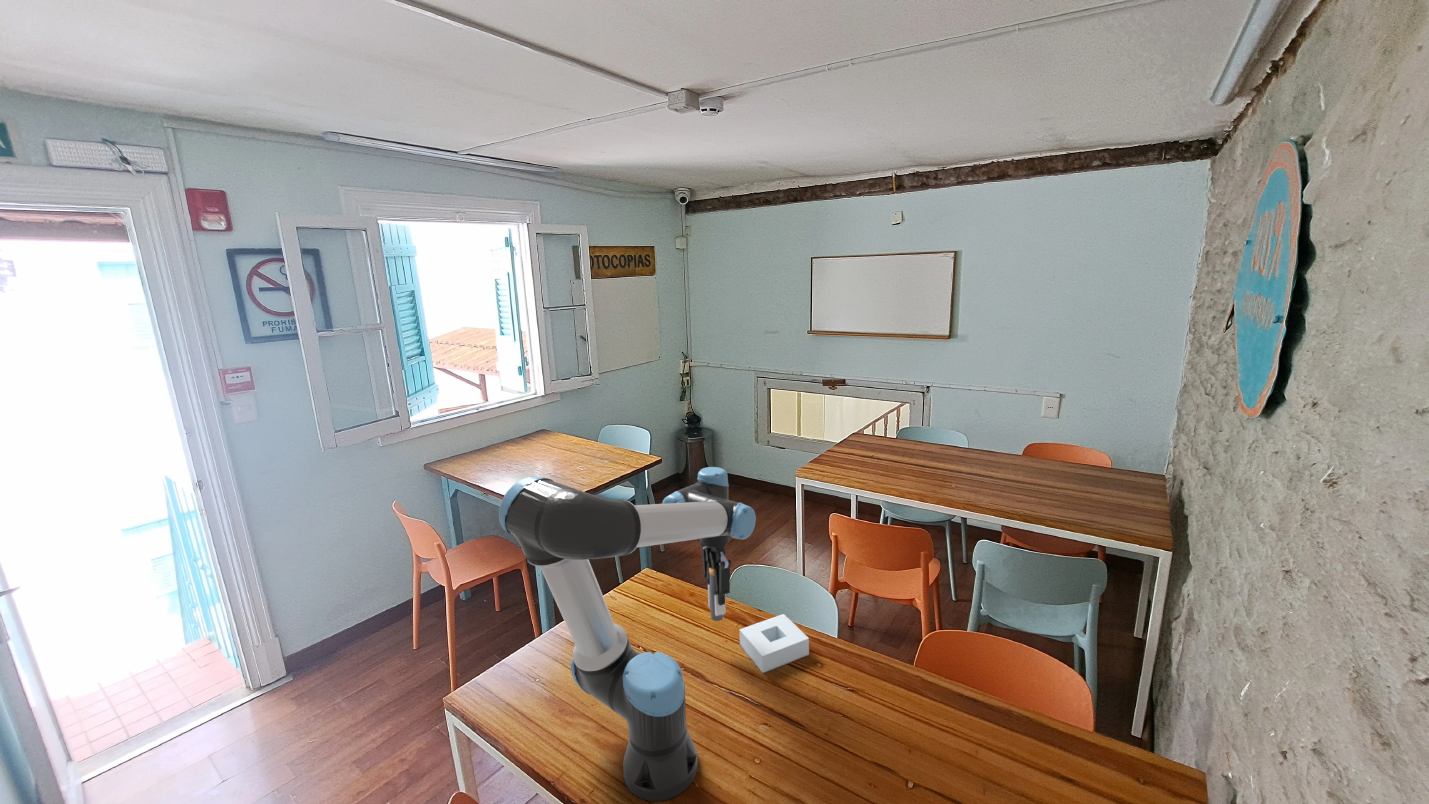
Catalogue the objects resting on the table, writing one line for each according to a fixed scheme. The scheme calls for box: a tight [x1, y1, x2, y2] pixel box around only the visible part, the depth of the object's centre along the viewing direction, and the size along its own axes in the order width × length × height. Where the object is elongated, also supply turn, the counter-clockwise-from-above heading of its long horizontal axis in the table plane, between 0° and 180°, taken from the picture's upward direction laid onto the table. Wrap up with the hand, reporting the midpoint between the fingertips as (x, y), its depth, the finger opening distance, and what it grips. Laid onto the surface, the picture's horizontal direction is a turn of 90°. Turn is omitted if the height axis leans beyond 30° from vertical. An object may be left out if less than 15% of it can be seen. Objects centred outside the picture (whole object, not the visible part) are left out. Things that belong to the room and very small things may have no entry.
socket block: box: [739, 613, 810, 674], centre depth 145 cm, size 12×14×5 cm
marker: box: [709, 567, 725, 622], centre depth 143 cm, size 4×4×14 cm
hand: (717, 609), depth 144 cm, fingers closed on marker, 3 cm apart
